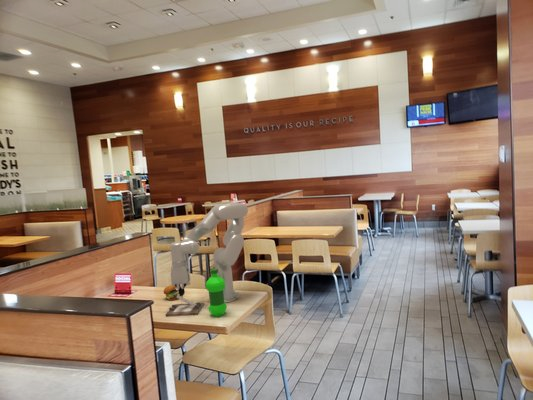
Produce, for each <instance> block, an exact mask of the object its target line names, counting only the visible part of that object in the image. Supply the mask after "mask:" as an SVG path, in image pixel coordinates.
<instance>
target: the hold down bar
mask: <svg viewBox="0 0 533 400" xmlns="http://www.w3.org/2000/svg"><path fill="white" fill-rule="evenodd" d="M174 297H176V298H178V299H177V300H180V301H183V302H185V304H190V305H192V306H194V307H195V305H197V304H195V303H196V302H193V301H190V300H189V299H187V298H184V297H183V296H182V297H181V296H179V295H177V294H175V295H174Z"/></svg>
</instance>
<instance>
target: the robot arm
mask: <svg viewBox="0 0 533 400" xmlns="http://www.w3.org/2000/svg"><path fill="white" fill-rule="evenodd" d="M248 212H249V208H248V206H247V205H246V204H245V203H242V202H231V203H229V204H225V205H224V204H223V205H222V204H216V205H214V206H213V207H212V208H211V209H210V211H208V213H207V214H206V215H205V216H204V218H202V220H201V221H200V222H199V223H198V224H197V225H196V226H194V227H193V228H192V229H191V230H189V232H188V233H187V234H186V235H185V236H184V238H183V239H182V240H181V241H174V242H171V243H170V255H171V265H172V266H171V268H170V283H171V284H170V285H172V286H175V287H176V288H177V289H176V290H178V291H179V294H180V296H182V297H183V296H184V295H185V288H186V287H187V286H190V285H191V282H190V281H191V276H190V274H191V273H190V269H189V266H188V264H189V261H187V259H186V255H189V254H195V253H196V252H198V251H199V250H200V249H199V248H200V245H199V243H198V241H199V240H200V239H201V238H202V237H204V236H206V235H209V234H210V233H212V232H213V230H215V228H216V227H217V226H218V224H219V223H220V222H221V220H222V221H227V220H230V222H229V225H228V227H227V229H226V231H225V234H224V236H223V238H222V243H223V245H224V246H225V247H219V248H217V249H215V250H214V252H213V257H212V259H213V263H214V264H213V265H214V267H215V268H214V269H218V273H217V275H218V276H219V277H221V278H222V279H224V281H225V287H224V289H223V291H224V302H225V303H226V304H227V303H231V302H234V301H235V300H237V297H241V296H242V293H241V292H240V291H239V292H236V290H235V289H234V282H233V269H232V266H234V265H235V263H236V262H237V260H238V259H239V255H240V254H241V251H242V249H243V247H244V244H245V239H244V237H243V235H242V231H243V230H244V229H243V228H244V227H245V226H244V225H245V217H246V216H247V214H248Z"/></svg>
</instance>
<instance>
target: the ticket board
mask: <svg viewBox="0 0 533 400" xmlns="http://www.w3.org/2000/svg"><path fill="white" fill-rule="evenodd" d="M194 303H195V304H197V305H195V307H194V306H192V305H190V304H188V303H175V304H171V307H169V308H168V310H167V312H166V313H165V314H164V315H165V318H166V317H184V316H198V314H199V313H200V312H201V310H202V309H203V307H204V306H205V302H200V301H198V302H194Z"/></svg>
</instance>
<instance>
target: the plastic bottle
mask: <svg viewBox="0 0 533 400" xmlns="http://www.w3.org/2000/svg"><path fill="white" fill-rule="evenodd" d="M209 272H210V275H211V276H210V277H209V278H208V279H207V281H206V282H205V289H206V291H207V292H208V297H209V306H208V311H209V313H210V314H212V315H213V316H214V317H221V316H223V315H224V314H225V312H226V311H227V307H228V306H227V303H225V302H224V291H223V289H224V287H225V281H224V279H222V278H221V277H219V276H218V275H217V273H218V269H215V268H211V269H210V270H209Z"/></svg>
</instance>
